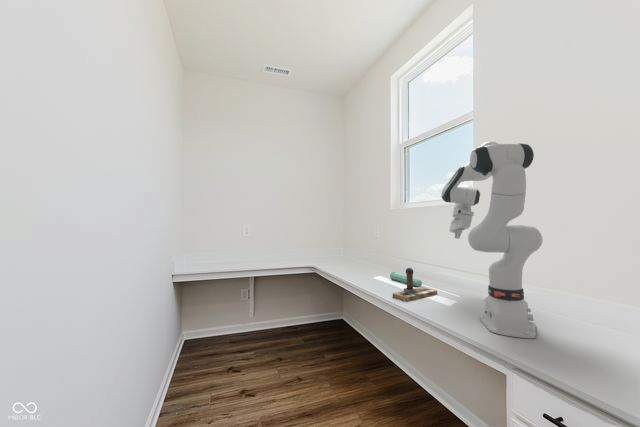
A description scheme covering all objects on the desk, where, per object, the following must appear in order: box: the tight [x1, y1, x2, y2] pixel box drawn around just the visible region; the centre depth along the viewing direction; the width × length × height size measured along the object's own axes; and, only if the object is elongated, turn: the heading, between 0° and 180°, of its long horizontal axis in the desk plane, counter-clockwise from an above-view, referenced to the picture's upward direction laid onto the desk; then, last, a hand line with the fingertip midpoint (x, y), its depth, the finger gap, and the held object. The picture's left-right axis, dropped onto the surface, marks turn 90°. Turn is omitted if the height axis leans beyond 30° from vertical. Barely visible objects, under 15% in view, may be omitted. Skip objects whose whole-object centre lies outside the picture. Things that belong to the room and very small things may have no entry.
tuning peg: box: [403, 267, 418, 294], centre depth 150 cm, size 5×7×13 cm
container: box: [389, 271, 423, 288], centre depth 183 cm, size 6×6×25 cm
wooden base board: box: [392, 286, 438, 303], centre depth 153 cm, size 24×10×2 cm, turn 121°
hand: (457, 238), depth 153 cm, fingers closed
